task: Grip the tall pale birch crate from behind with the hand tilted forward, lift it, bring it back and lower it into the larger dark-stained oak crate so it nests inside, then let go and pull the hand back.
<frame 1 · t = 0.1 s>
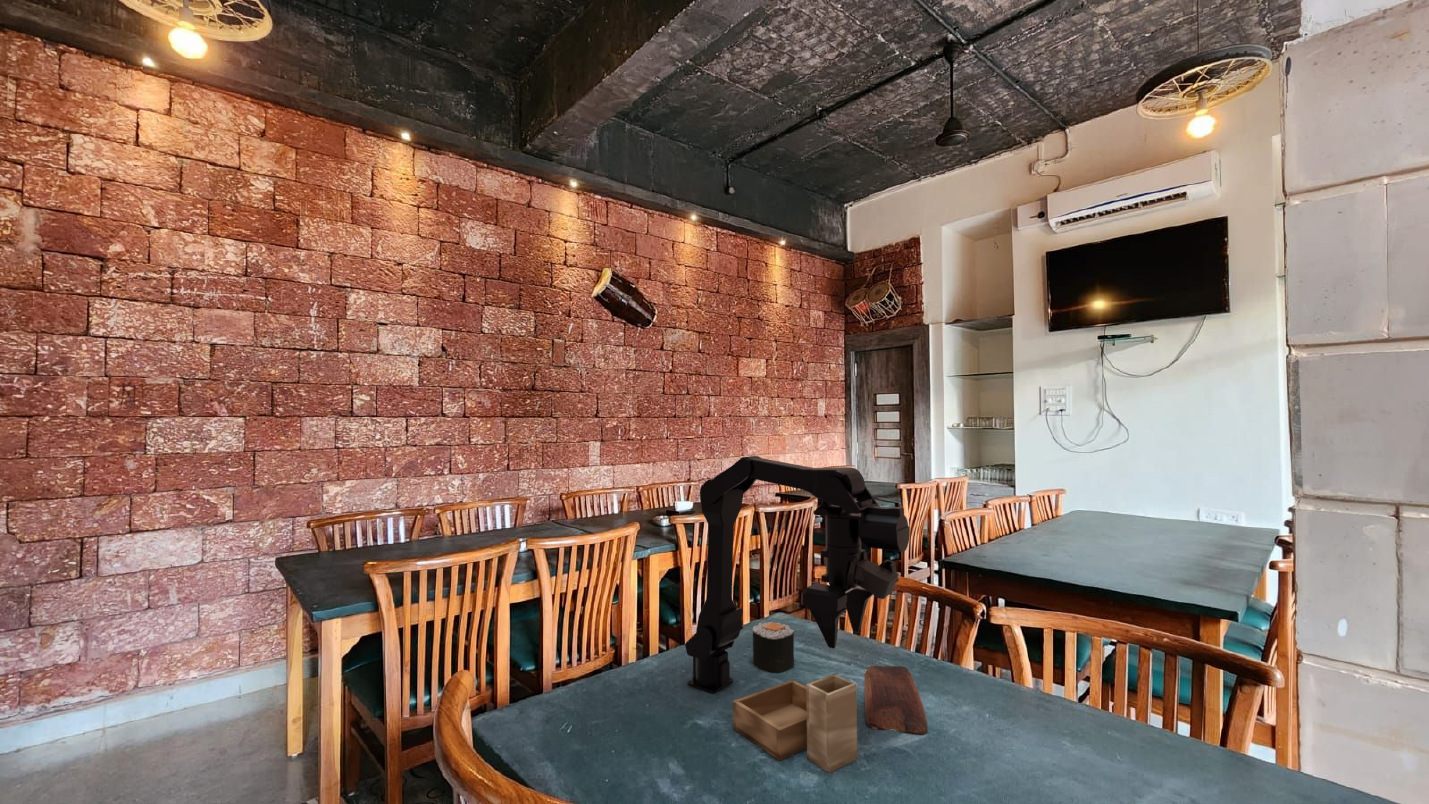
hand: (844, 639, 97), 15 cm above the table, tool pointing down, fingers open, 9 cm apart
wooden tablet: (892, 699, 108), on the table
sushi: (773, 665, 123), on the table
birch crate: (832, 758, 88), on the table
oak crate: (786, 730, 96), on the table
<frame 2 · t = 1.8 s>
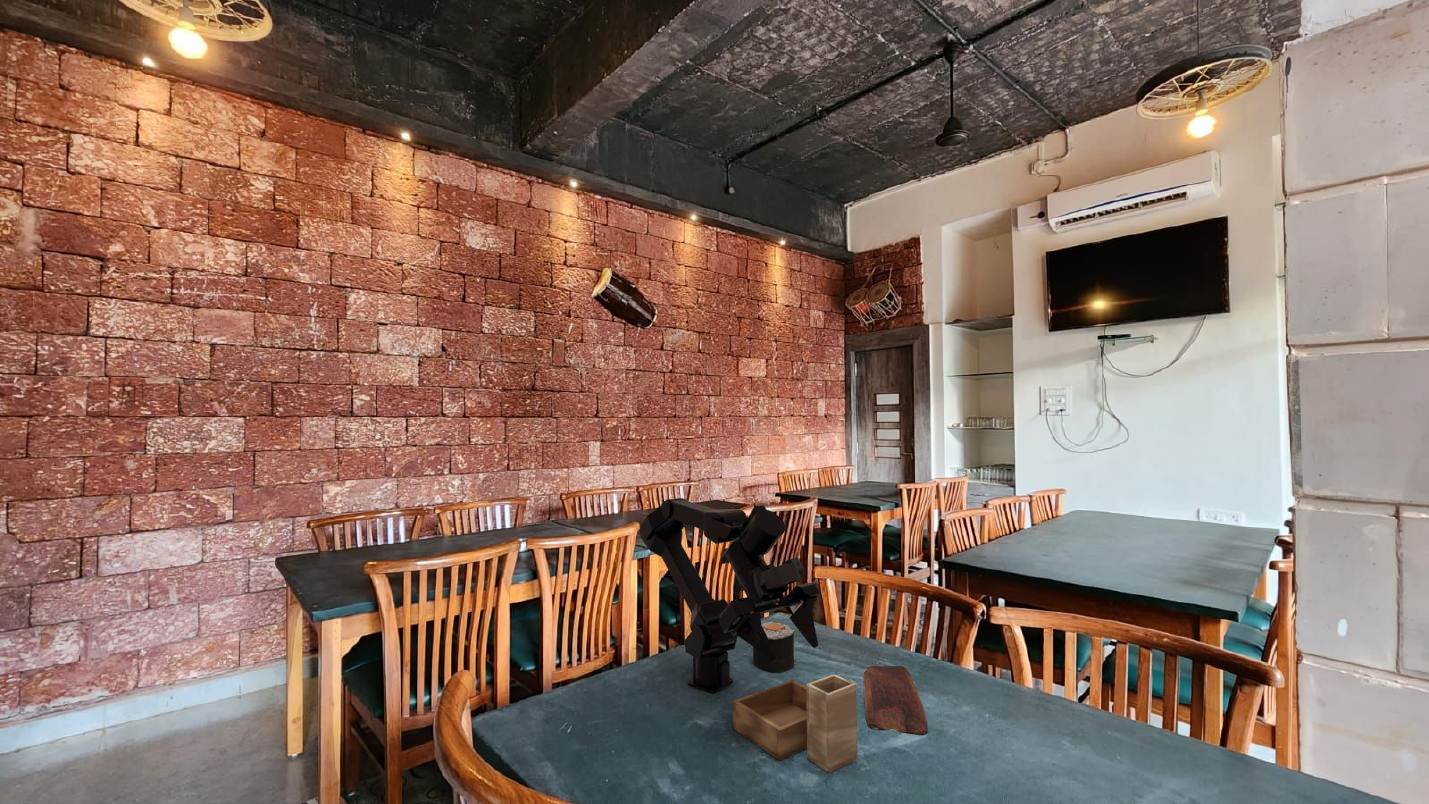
hand: (796, 653, 95), 13 cm above the table, tool tilted 45°, fingers open, 9 cm apart
nothing on the table moved.
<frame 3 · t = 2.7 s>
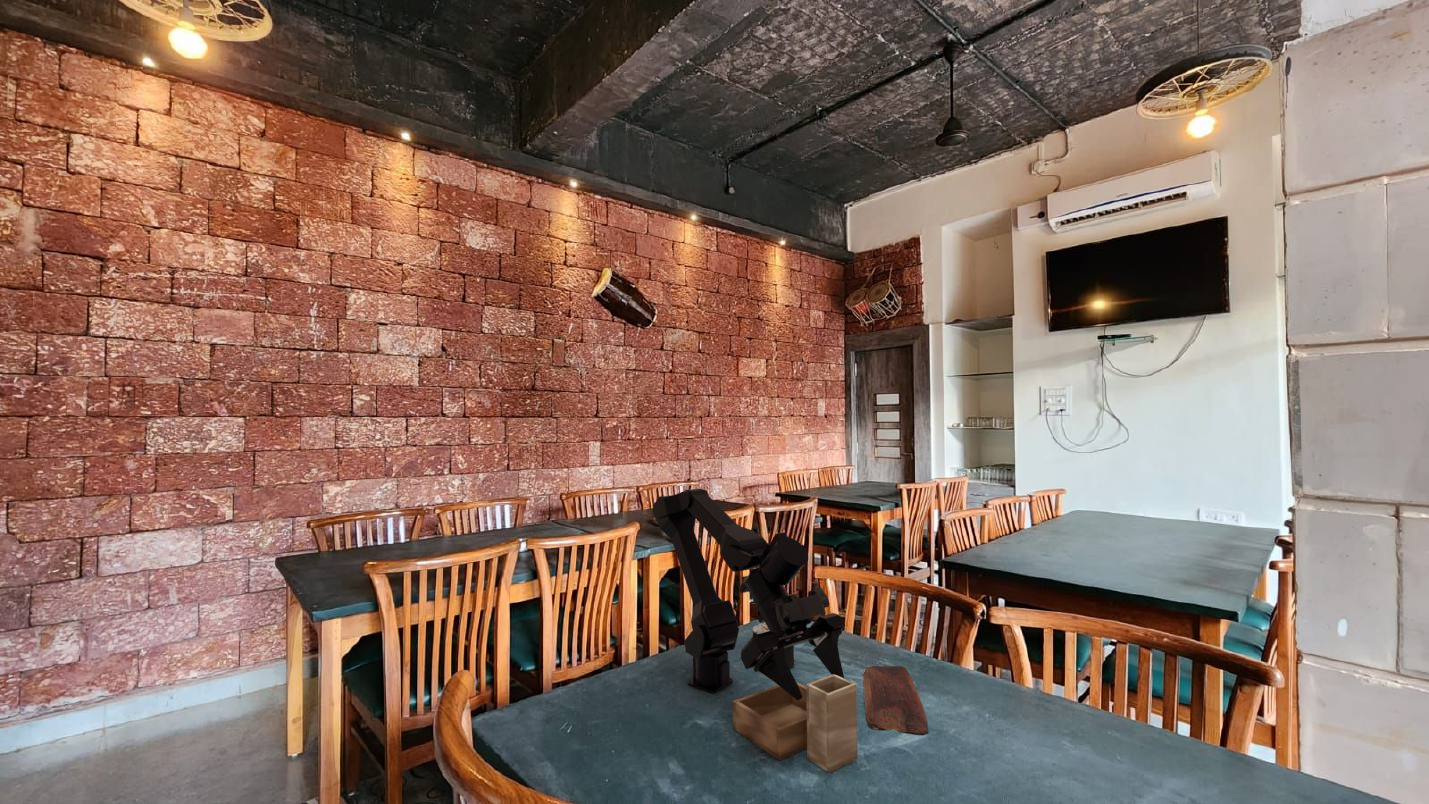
hand: (822, 690, 90), 9 cm above the table, tool tilted 45°, fingers open, 9 cm apart
nothing on the table moved.
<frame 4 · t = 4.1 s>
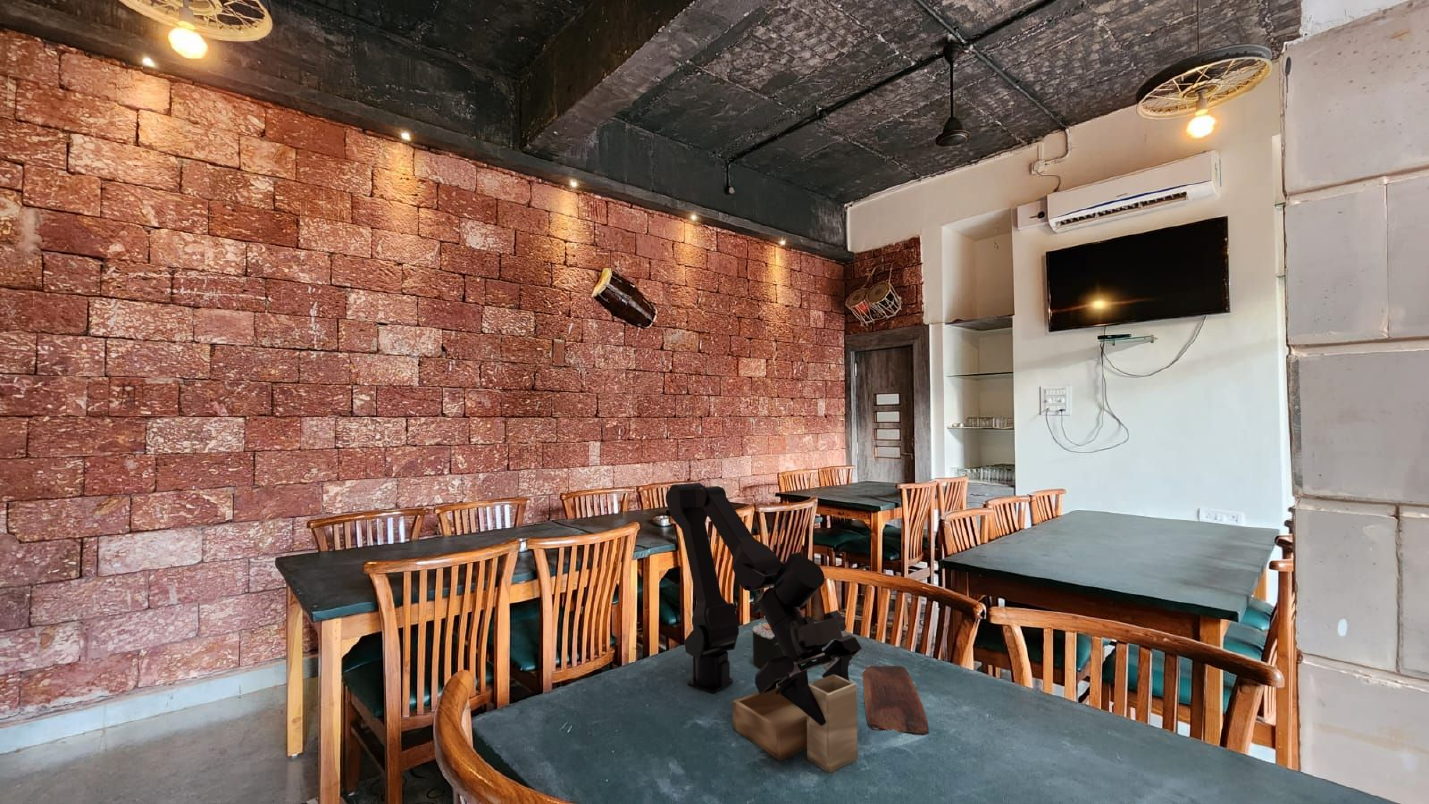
hand: (838, 717, 87), 7 cm above the table, tool tilted 45°, fingers closed on birch crate, 6 cm apart
birch crate: (832, 758, 88), on the table, touching gripper
everything else where it was.
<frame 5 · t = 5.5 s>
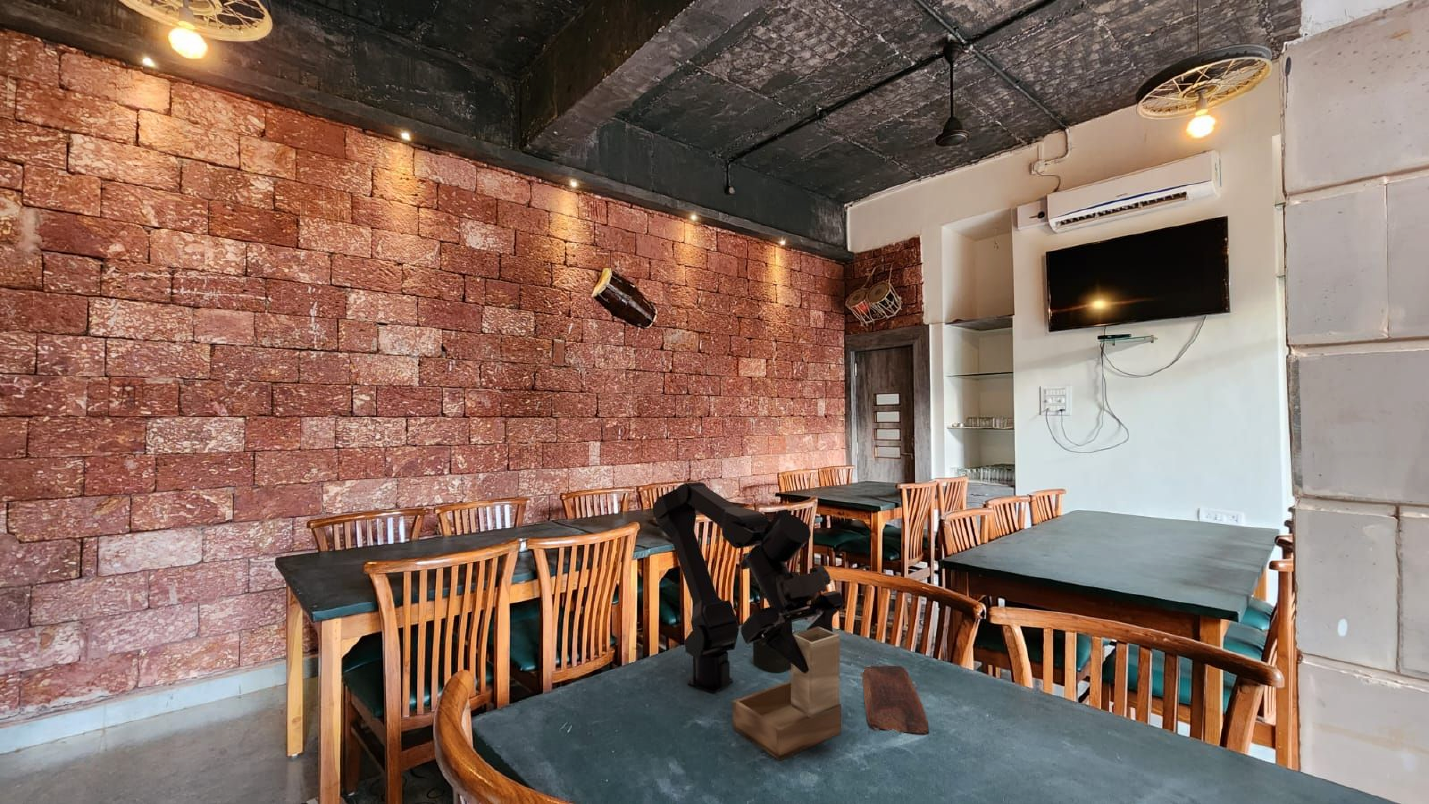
hand: (821, 666, 90), 13 cm above the table, tool tilted 45°, fingers closed on birch crate, 6 cm apart
birch crate: (815, 706, 91), point 6 cm above the table, touching gripper
everything else where it was.
when the fingers open (9 cm above the table, at t = 7.2 s): birch crate drops 2 cm, resting on oak crate.
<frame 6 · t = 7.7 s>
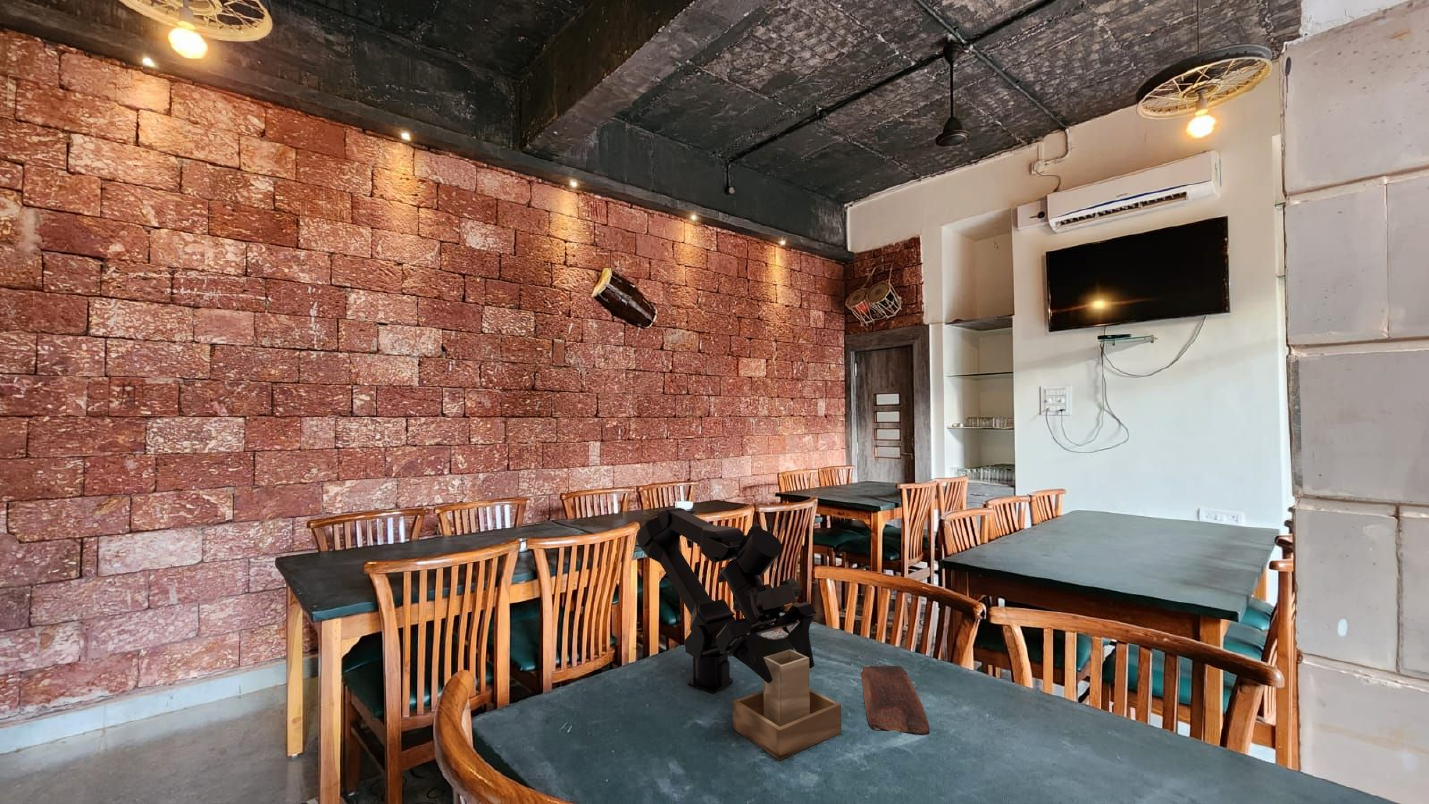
hand: (792, 674, 95), 10 cm above the table, tool tilted 45°, fingers open, 9 cm apart
birch crate: (786, 725, 96), point 1 cm above the table, touching oak crate
everything else where it was.
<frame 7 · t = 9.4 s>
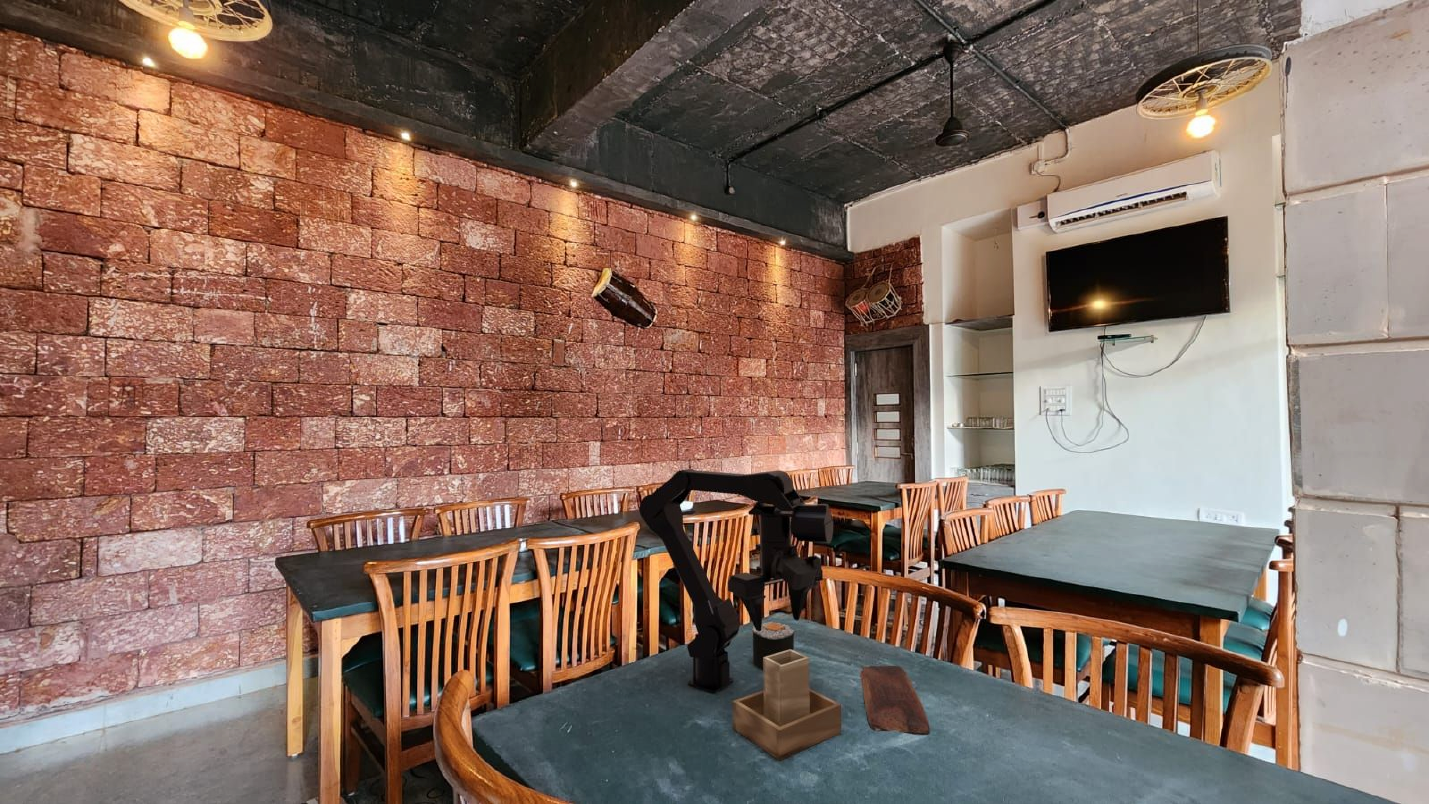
hand: (777, 625, 108), 13 cm above the table, tool pointing down, fingers open, 9 cm apart
nothing on the table moved.
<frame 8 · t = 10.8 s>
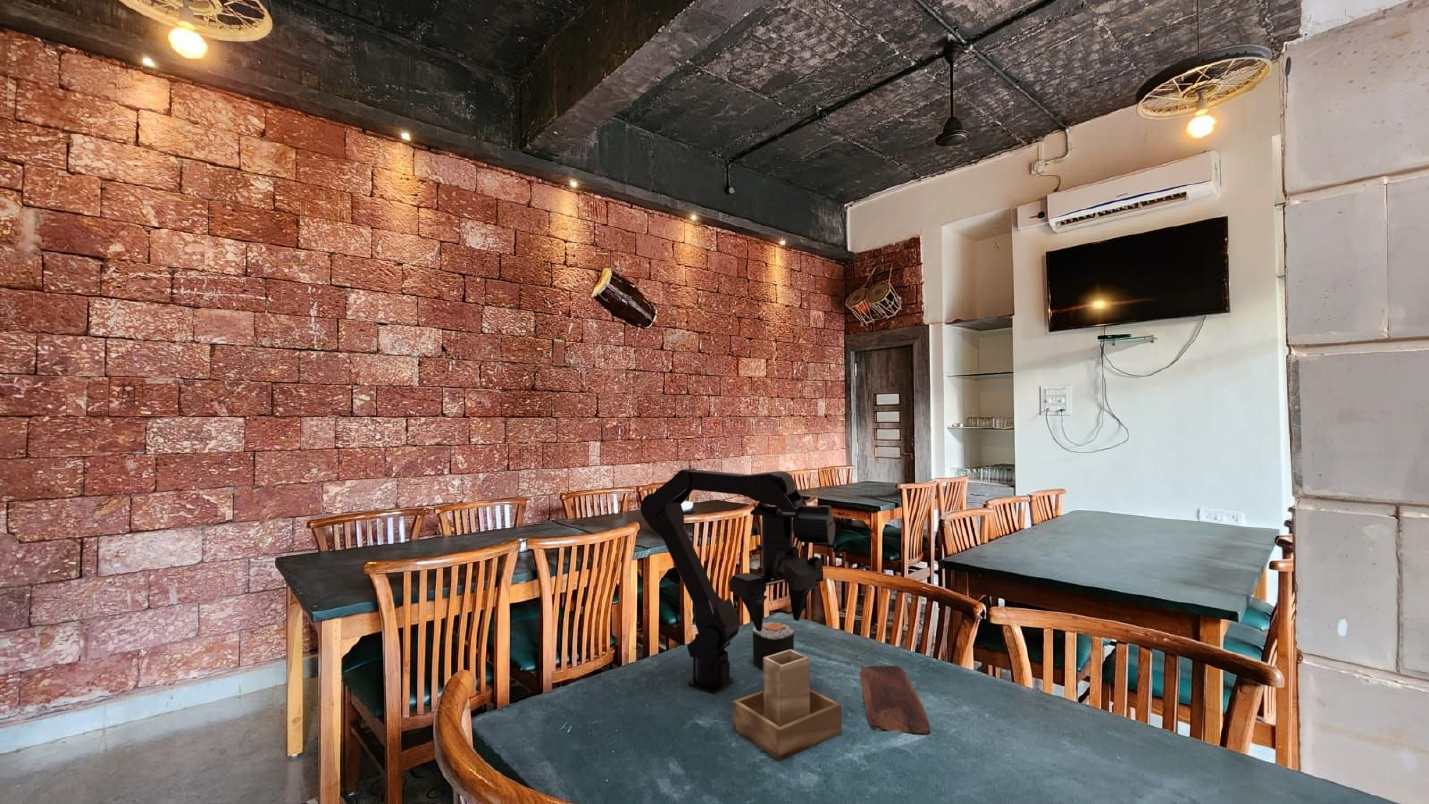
hand: (778, 625, 108), 13 cm above the table, tool pointing down, fingers open, 9 cm apart
nothing on the table moved.
at the end: birch crate inside the target area on the oak crate (0.0 cm from its centre), point 0.8 cm above the oak crate's base; birch crate tilted 0° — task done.
